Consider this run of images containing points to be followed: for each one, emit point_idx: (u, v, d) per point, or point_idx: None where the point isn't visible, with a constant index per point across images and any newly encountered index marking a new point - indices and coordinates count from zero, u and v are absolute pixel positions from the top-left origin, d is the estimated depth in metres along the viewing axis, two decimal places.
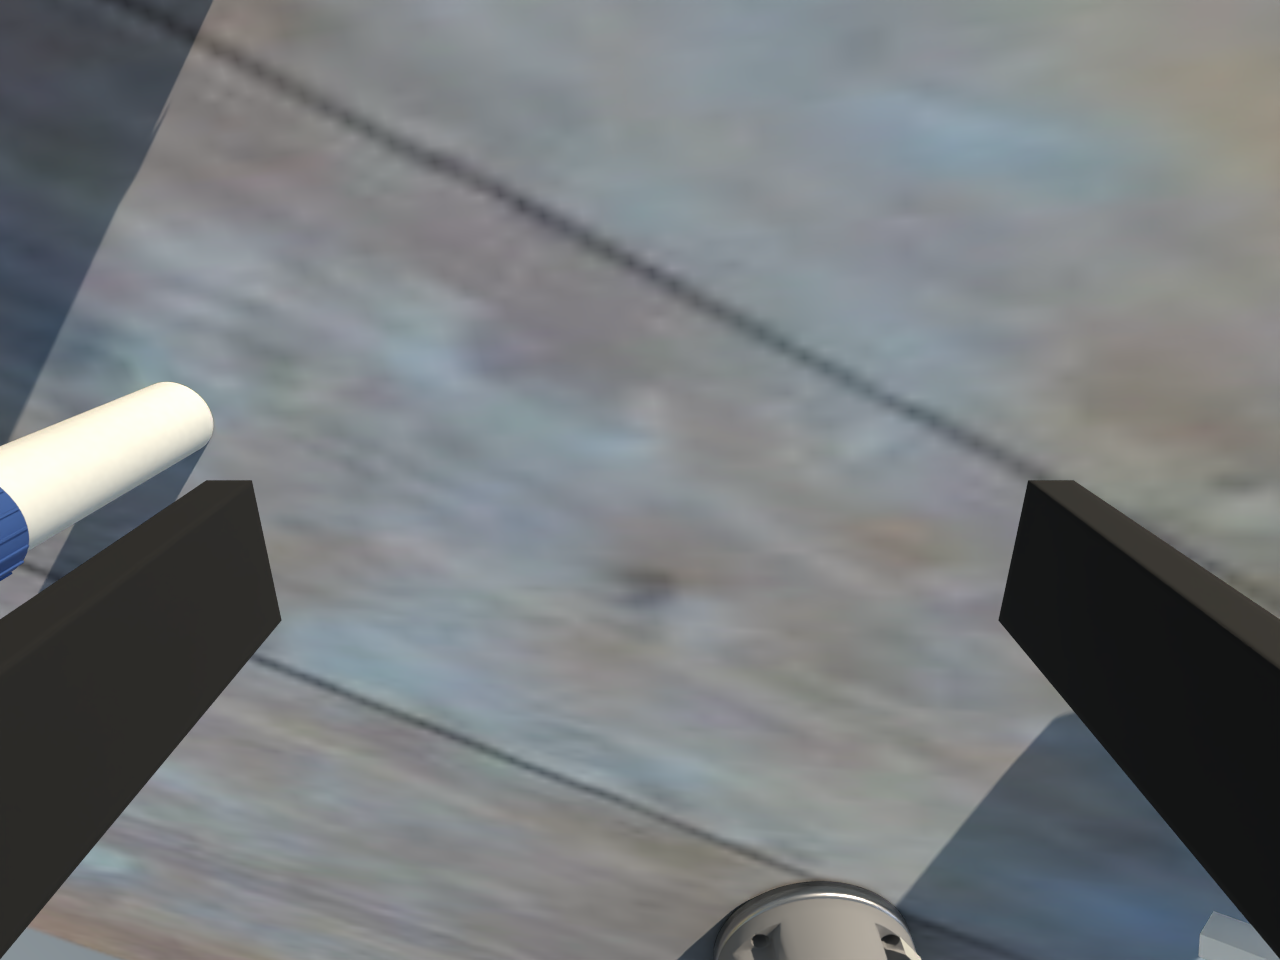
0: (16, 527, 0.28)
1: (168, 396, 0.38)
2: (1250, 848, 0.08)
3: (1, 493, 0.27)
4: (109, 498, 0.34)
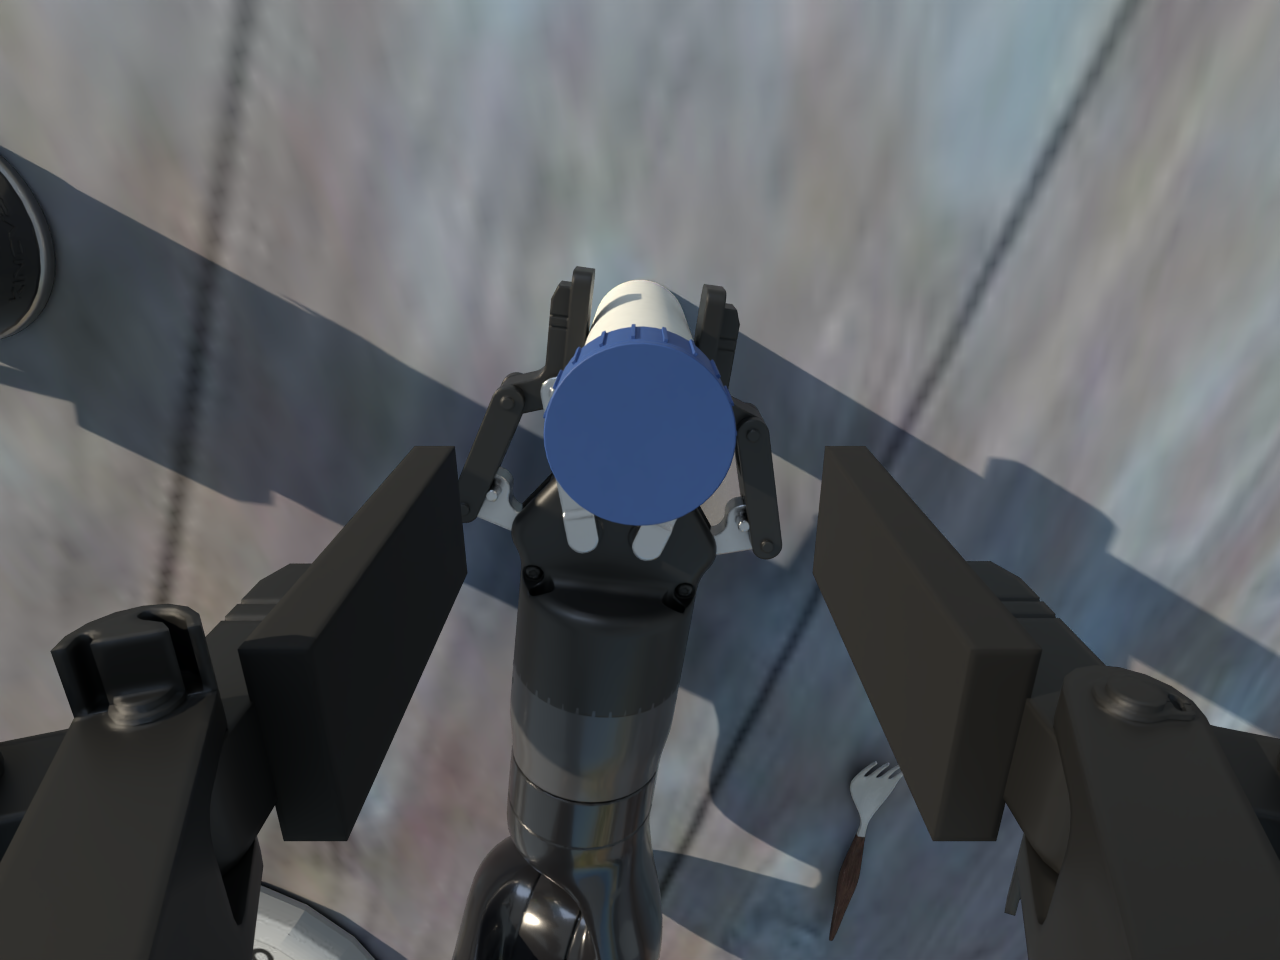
0: (627, 330, 0.19)
1: (596, 313, 0.31)
2: (913, 734, 0.09)
3: (581, 348, 0.20)
4: (671, 317, 0.25)
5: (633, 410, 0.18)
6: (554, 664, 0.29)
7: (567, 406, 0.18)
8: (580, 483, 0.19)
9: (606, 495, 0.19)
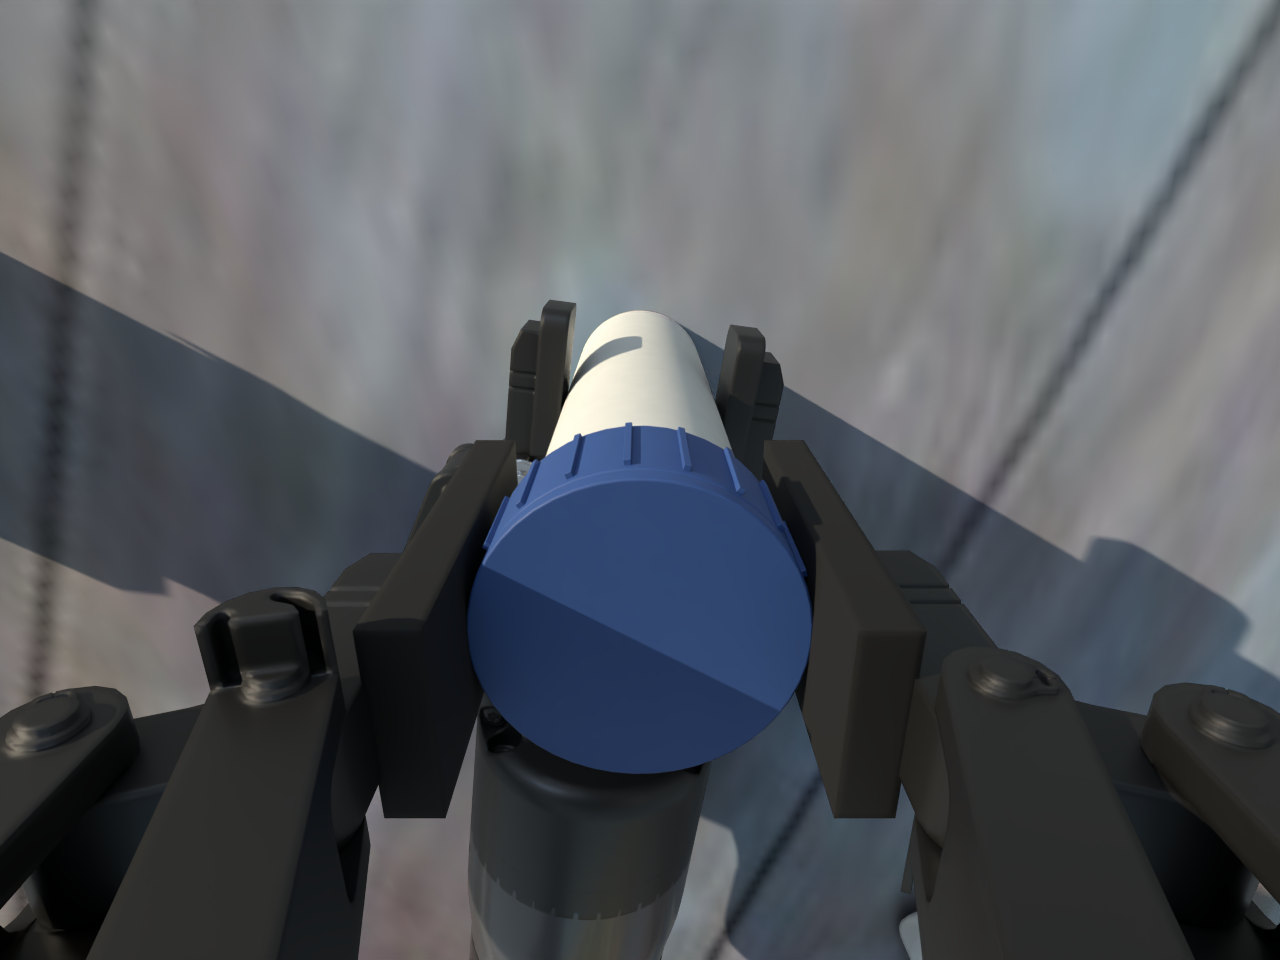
0: (617, 435, 0.11)
1: None
2: (822, 716, 0.10)
3: (540, 462, 0.11)
4: (687, 381, 0.17)
5: (627, 592, 0.10)
6: (521, 850, 0.21)
7: (507, 586, 0.10)
8: (534, 710, 0.11)
9: (580, 728, 0.11)
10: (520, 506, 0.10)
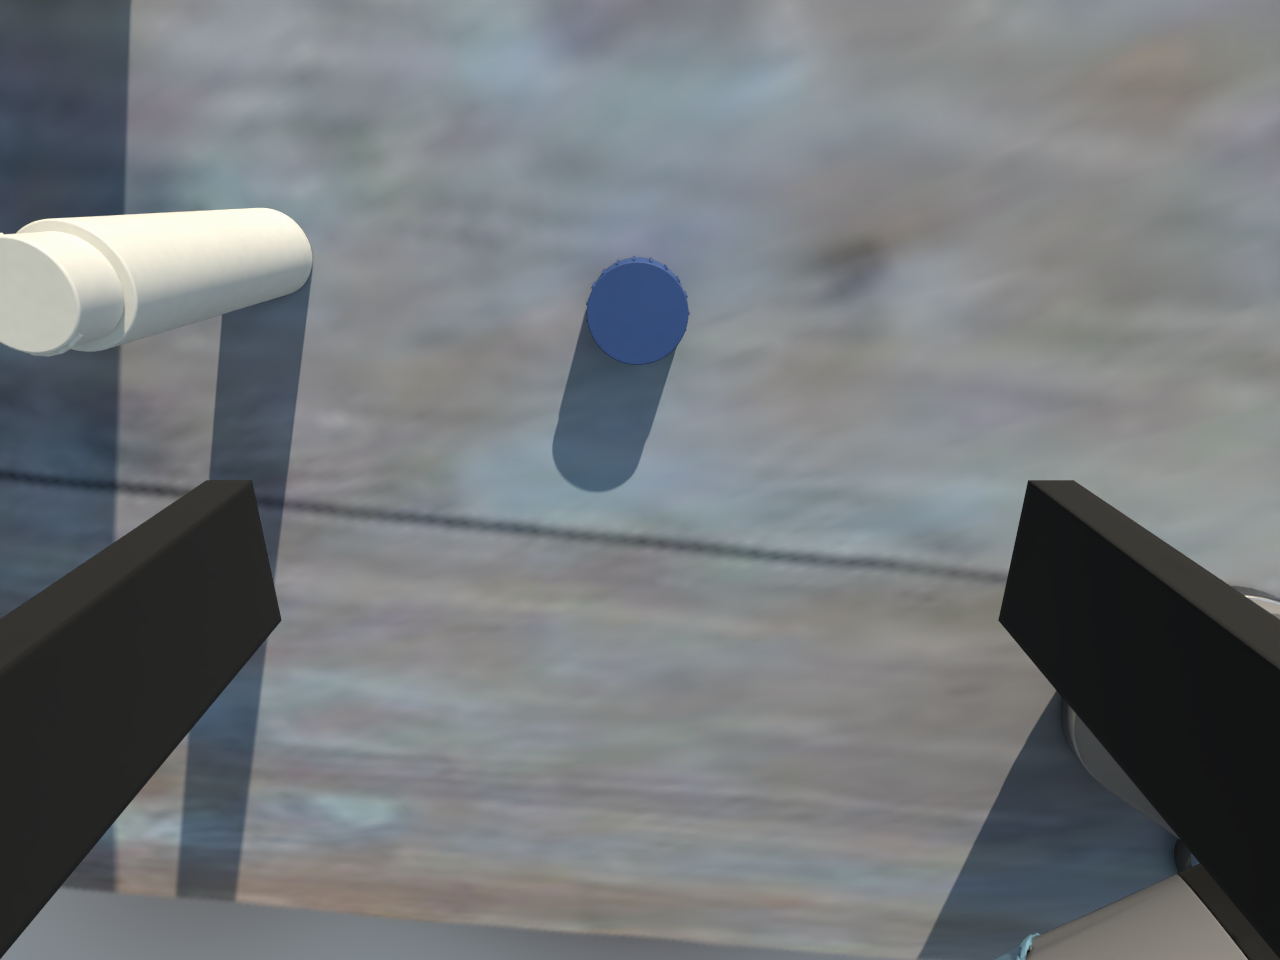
0: None
1: (251, 209, 0.33)
2: (1250, 848, 0.08)
3: None
4: (221, 287, 0.28)
5: (621, 314, 0.35)
6: None
7: (611, 346, 0.35)
8: (653, 351, 0.35)
9: (664, 340, 0.35)
10: None
